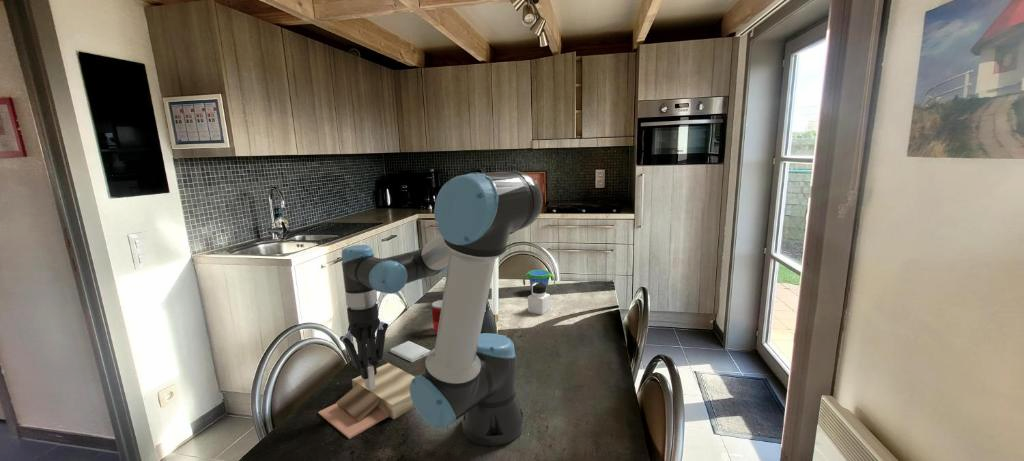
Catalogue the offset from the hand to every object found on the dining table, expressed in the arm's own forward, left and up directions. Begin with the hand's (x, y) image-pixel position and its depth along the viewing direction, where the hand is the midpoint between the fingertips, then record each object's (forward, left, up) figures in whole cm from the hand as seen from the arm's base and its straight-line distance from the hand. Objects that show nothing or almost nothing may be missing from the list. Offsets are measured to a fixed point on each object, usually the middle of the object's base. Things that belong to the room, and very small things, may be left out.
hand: (370, 387), depth 110 cm
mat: (0, +5, -5) cm, 8 cm away
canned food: (+22, -44, -6) cm, 50 cm away
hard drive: (+17, -25, -6) cm, 31 cm away
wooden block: (0, +3, -4) cm, 5 cm away
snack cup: (+18, -101, -6) cm, 103 cm away
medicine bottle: (+4, -82, -6) cm, 82 cm away
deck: (0, -6, -5) cm, 8 cm away
